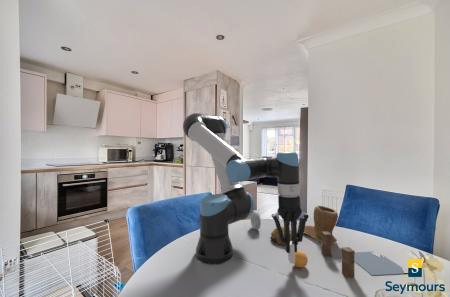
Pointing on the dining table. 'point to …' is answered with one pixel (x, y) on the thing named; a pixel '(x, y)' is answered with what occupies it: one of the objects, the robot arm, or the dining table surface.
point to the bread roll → (276, 237)
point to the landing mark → (377, 264)
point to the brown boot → (322, 223)
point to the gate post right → (348, 262)
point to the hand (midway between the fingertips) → (291, 261)
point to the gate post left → (327, 244)
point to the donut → (255, 220)
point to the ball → (300, 259)
